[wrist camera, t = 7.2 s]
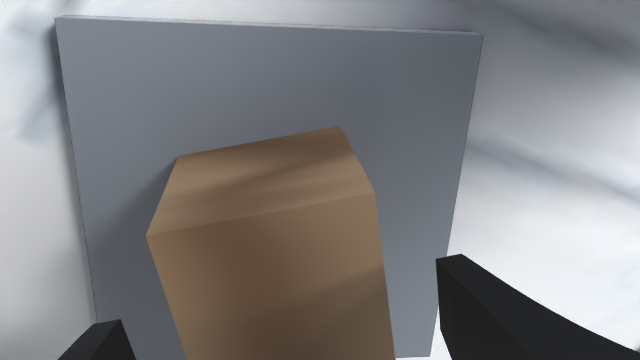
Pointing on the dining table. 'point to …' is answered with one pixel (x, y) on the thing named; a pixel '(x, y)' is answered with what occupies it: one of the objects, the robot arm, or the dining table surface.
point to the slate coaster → (261, 124)
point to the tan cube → (274, 252)
